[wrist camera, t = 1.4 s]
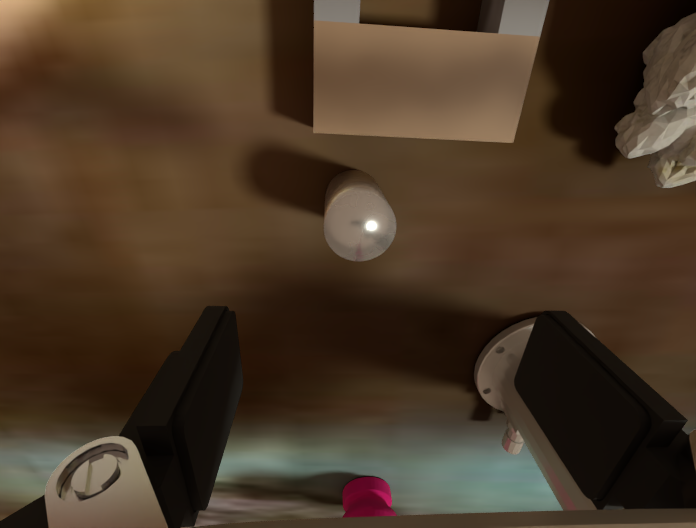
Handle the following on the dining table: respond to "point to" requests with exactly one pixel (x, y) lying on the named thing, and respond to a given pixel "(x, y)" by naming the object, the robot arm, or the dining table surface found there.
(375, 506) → the pepper mill
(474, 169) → the dining table surface
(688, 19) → the mineral
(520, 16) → the frame
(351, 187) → the white glossy cylinder
